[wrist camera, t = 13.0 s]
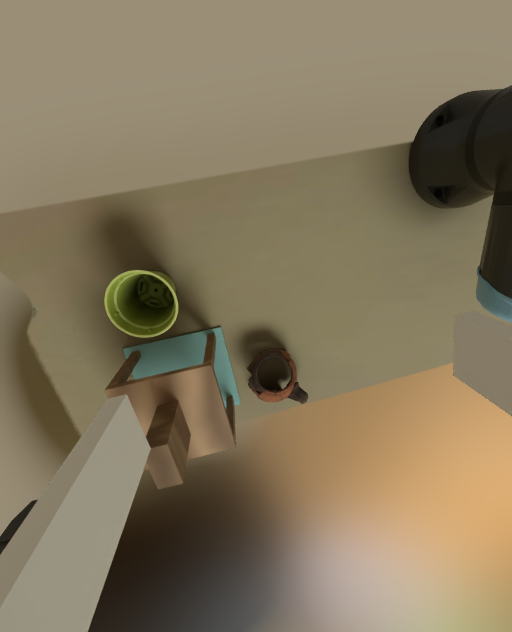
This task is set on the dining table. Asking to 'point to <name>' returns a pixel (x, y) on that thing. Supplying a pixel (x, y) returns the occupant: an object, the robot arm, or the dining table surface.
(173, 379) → the brown piece
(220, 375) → the teal mat
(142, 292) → the plant pot
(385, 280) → the dining table surface
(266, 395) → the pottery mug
